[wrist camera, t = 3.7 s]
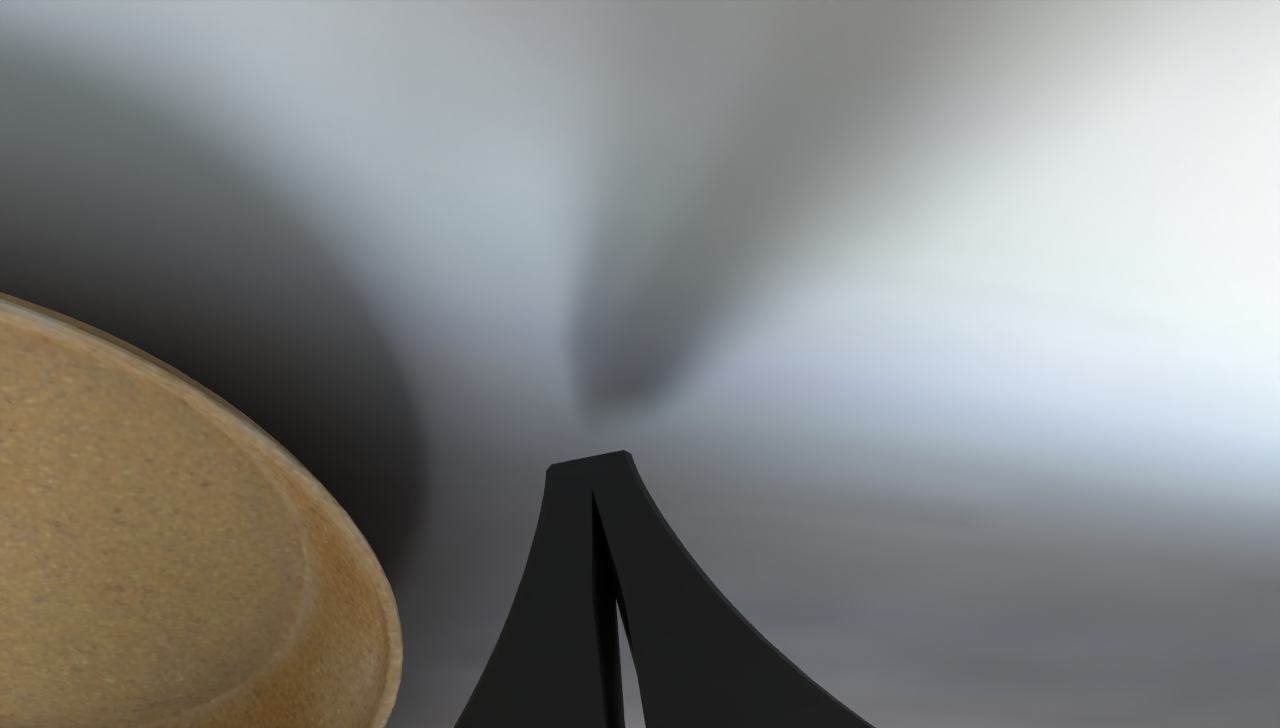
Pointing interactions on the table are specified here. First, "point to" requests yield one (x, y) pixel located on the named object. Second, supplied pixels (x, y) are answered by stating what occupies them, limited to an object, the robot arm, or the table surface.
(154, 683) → the plant saucer
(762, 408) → the table surface
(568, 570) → the robot arm
